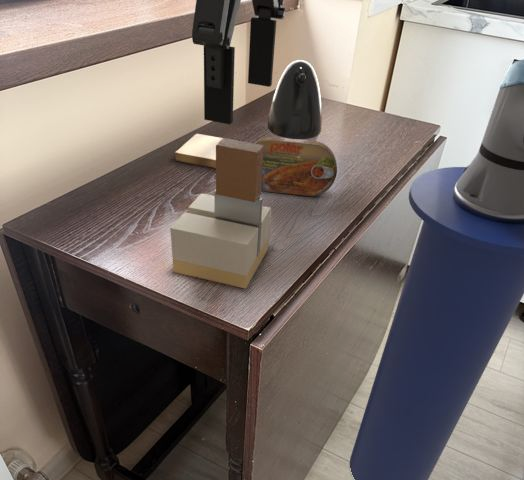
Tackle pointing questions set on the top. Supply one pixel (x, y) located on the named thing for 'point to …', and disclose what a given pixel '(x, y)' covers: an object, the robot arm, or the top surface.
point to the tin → (297, 166)
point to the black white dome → (296, 104)
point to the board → (199, 150)
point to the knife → (239, 183)
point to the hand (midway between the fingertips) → (240, 101)
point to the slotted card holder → (217, 245)
